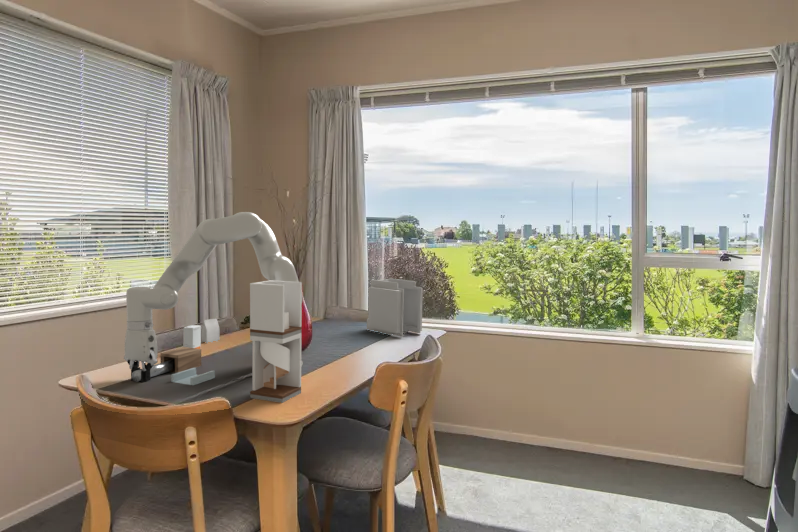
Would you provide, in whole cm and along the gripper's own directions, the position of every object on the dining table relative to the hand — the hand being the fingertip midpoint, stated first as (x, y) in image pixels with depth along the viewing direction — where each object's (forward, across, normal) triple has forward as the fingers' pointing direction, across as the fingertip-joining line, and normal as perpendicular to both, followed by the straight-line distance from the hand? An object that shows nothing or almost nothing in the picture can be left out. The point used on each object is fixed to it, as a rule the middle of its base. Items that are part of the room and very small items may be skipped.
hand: (140, 380), depth 180 cm
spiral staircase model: (+2, -45, -10) cm, 47 cm away
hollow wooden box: (+1, 0, -18) cm, 18 cm away
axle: (0, 0, -7) cm, 7 cm away
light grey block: (+2, +27, -62) cm, 67 cm away
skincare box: (+2, +14, -37) cm, 39 cm away
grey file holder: (+2, -37, -119) cm, 125 cm away
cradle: (+1, -14, -8) cm, 17 cm away
